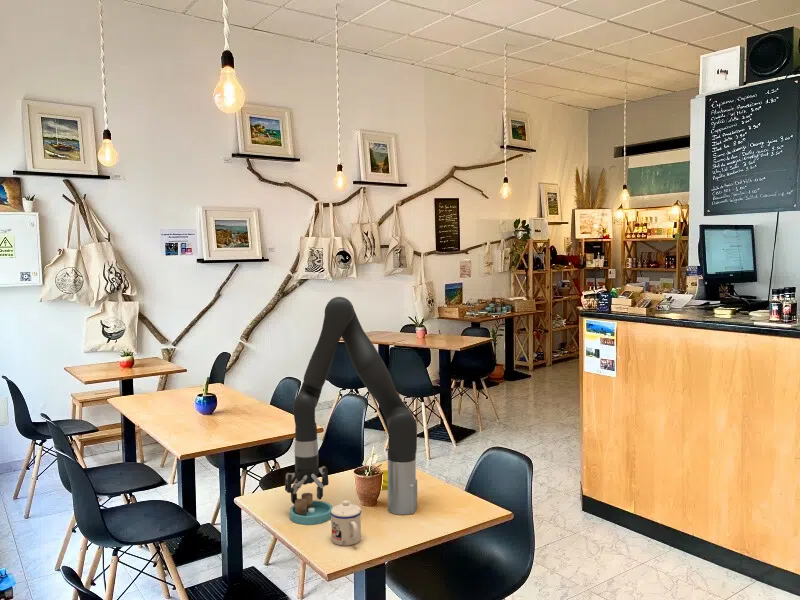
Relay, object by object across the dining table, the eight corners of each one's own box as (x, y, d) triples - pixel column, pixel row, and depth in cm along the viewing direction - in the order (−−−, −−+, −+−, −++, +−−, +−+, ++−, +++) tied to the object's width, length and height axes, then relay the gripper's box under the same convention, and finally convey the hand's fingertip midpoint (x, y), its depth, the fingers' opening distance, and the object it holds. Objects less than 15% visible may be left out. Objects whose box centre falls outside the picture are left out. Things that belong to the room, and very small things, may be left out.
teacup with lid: (326, 536, 192) (325, 498, 191) (354, 530, 196) (353, 493, 195) (341, 553, 181) (341, 513, 180) (370, 546, 185) (370, 507, 184)
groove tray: (338, 509, 212) (338, 502, 212) (323, 526, 198) (323, 519, 198) (300, 506, 215) (299, 499, 215) (283, 522, 202) (282, 515, 202)
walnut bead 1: (304, 512, 207) (303, 497, 207) (308, 516, 204) (308, 501, 204) (293, 515, 205) (293, 500, 205) (298, 519, 202) (297, 503, 202)
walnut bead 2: (314, 508, 211) (314, 493, 211) (310, 512, 208) (310, 497, 207) (304, 507, 212) (303, 492, 212) (299, 511, 208) (299, 496, 208)
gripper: (290, 459, 202) (290, 509, 203) (331, 452, 209) (332, 500, 210) (281, 453, 208) (282, 502, 209) (321, 446, 215) (322, 493, 216)
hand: (307, 501), depth 210 cm, fingers open, 8 cm apart
